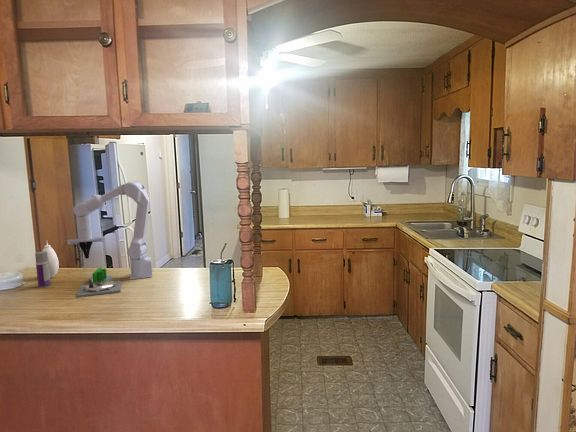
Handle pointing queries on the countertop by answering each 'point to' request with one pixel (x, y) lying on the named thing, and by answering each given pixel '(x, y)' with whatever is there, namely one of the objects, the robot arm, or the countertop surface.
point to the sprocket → (99, 285)
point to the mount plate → (114, 289)
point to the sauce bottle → (52, 260)
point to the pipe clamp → (99, 275)
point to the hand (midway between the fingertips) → (87, 258)
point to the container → (42, 269)
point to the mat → (108, 278)
